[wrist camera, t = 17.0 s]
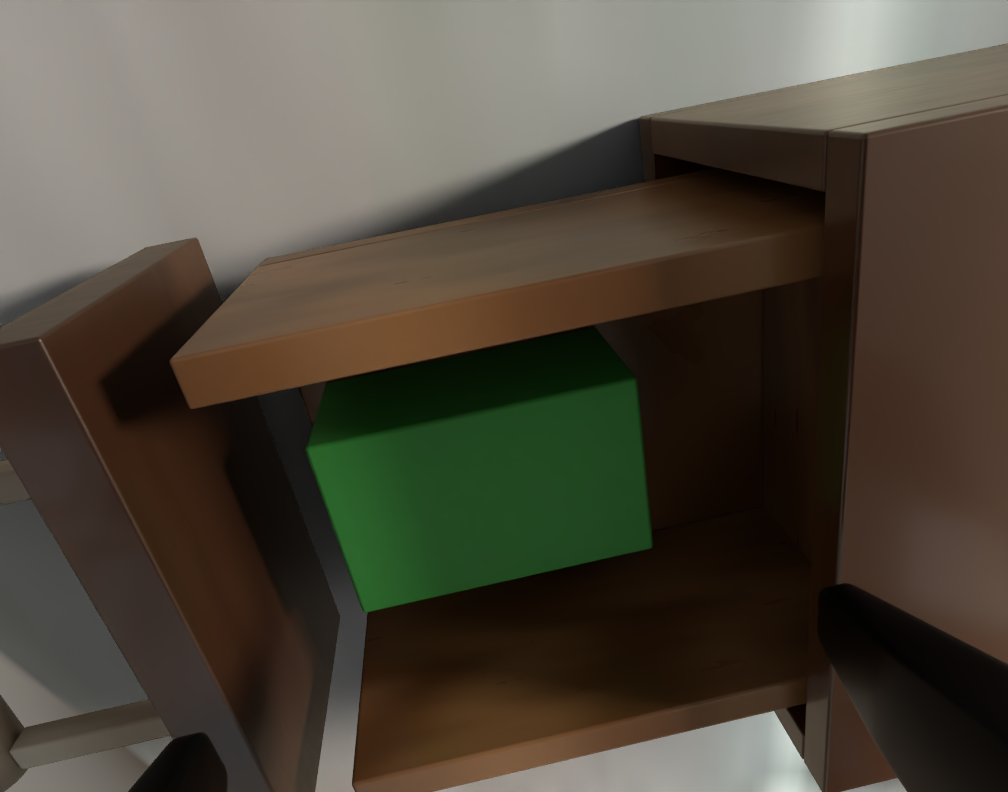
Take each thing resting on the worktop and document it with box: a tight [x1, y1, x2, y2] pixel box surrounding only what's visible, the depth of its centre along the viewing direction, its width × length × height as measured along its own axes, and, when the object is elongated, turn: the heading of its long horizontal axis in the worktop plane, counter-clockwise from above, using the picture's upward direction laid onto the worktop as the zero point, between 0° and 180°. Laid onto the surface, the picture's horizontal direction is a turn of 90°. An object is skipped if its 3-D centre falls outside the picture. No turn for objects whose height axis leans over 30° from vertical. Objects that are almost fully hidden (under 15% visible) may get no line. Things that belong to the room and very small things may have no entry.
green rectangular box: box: [306, 327, 653, 612], centre depth 15 cm, size 4×6×3 cm, turn 100°
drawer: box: [0, 168, 826, 792], centre depth 14 cm, size 20×11×7 cm, turn 100°
